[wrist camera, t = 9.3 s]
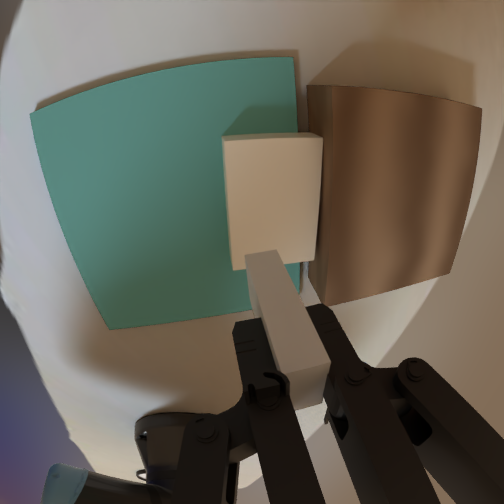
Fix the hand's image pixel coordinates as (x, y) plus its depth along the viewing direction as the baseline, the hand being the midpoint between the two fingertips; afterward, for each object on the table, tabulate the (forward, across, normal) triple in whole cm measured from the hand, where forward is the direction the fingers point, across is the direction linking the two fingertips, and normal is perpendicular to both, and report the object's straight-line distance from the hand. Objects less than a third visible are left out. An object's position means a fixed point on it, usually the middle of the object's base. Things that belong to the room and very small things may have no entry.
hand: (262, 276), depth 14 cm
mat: (+8, -4, 0) cm, 10 cm away
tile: (+8, +2, +1) cm, 8 cm away
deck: (+8, +12, 0) cm, 15 cm away
